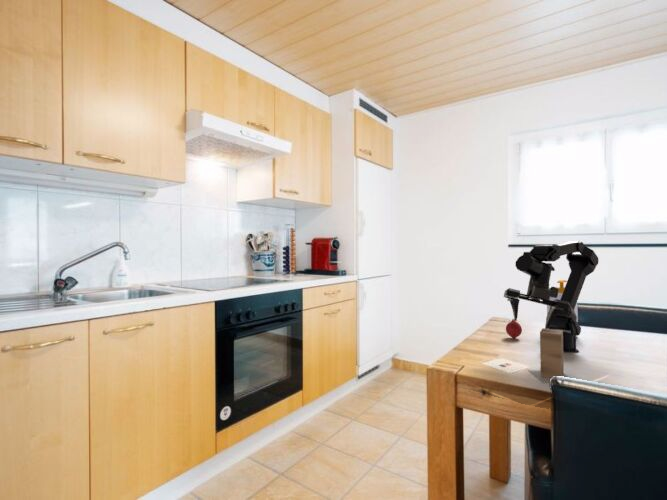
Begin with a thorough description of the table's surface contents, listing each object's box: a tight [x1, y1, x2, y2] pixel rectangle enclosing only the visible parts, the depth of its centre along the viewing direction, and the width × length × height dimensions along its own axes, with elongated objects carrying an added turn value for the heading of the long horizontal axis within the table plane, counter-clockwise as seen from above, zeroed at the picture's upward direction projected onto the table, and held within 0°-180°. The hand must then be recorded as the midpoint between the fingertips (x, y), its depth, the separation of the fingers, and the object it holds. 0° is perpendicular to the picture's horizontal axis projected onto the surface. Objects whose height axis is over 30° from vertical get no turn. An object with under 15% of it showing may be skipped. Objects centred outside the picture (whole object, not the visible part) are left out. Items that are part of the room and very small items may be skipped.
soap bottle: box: [546, 279, 579, 338], centre depth 141 cm, size 9×7×23 cm
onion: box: [505, 318, 523, 339], centre depth 139 cm, size 6×6×8 cm
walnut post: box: [539, 327, 565, 379], centre depth 98 cm, size 5×5×13 cm
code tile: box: [480, 357, 530, 374], centre depth 108 cm, size 10×10×1 cm
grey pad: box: [528, 369, 569, 384], centre depth 98 cm, size 9×9×1 cm
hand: (530, 324), depth 114 cm, fingers open, 9 cm apart
